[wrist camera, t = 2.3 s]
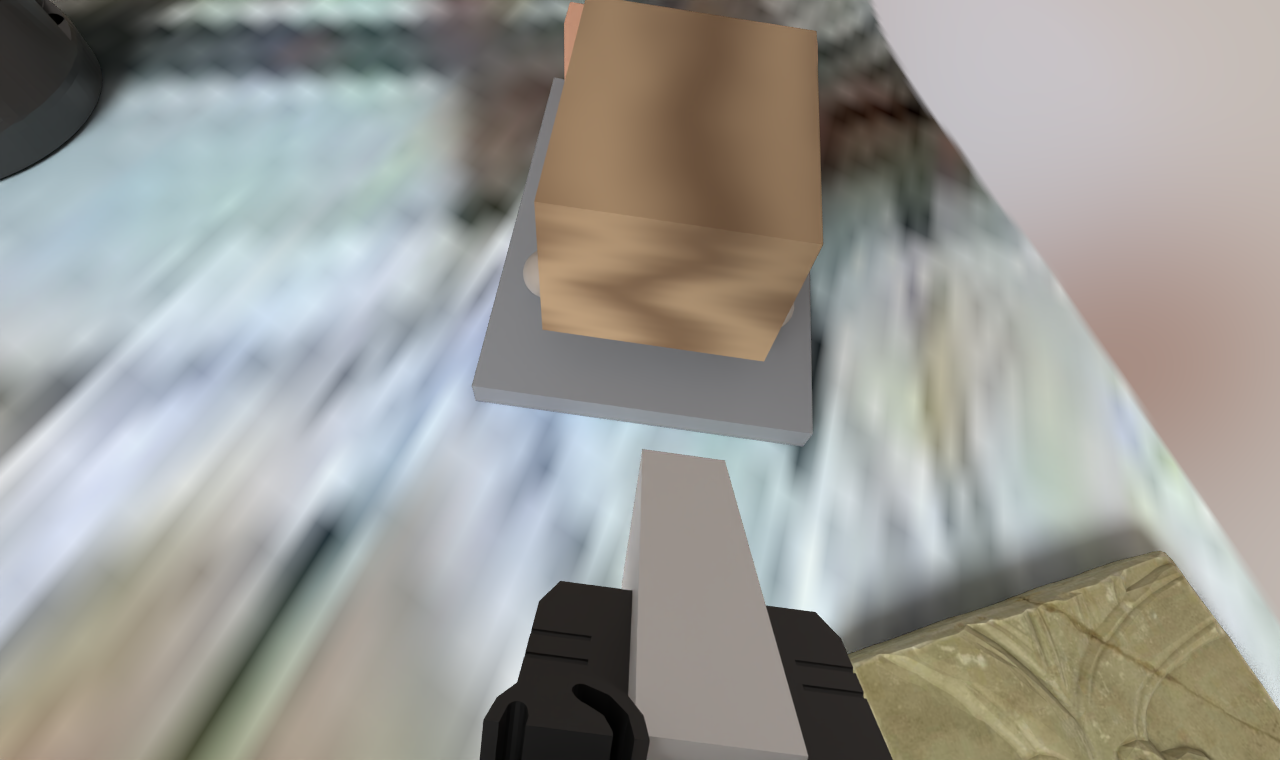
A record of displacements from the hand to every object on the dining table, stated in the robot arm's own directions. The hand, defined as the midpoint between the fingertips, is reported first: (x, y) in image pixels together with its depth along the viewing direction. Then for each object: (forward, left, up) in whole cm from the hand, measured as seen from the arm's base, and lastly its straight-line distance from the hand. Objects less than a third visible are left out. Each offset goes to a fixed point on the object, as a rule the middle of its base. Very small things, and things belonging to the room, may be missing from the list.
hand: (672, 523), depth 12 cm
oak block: (0, +18, -16) cm, 24 cm away
